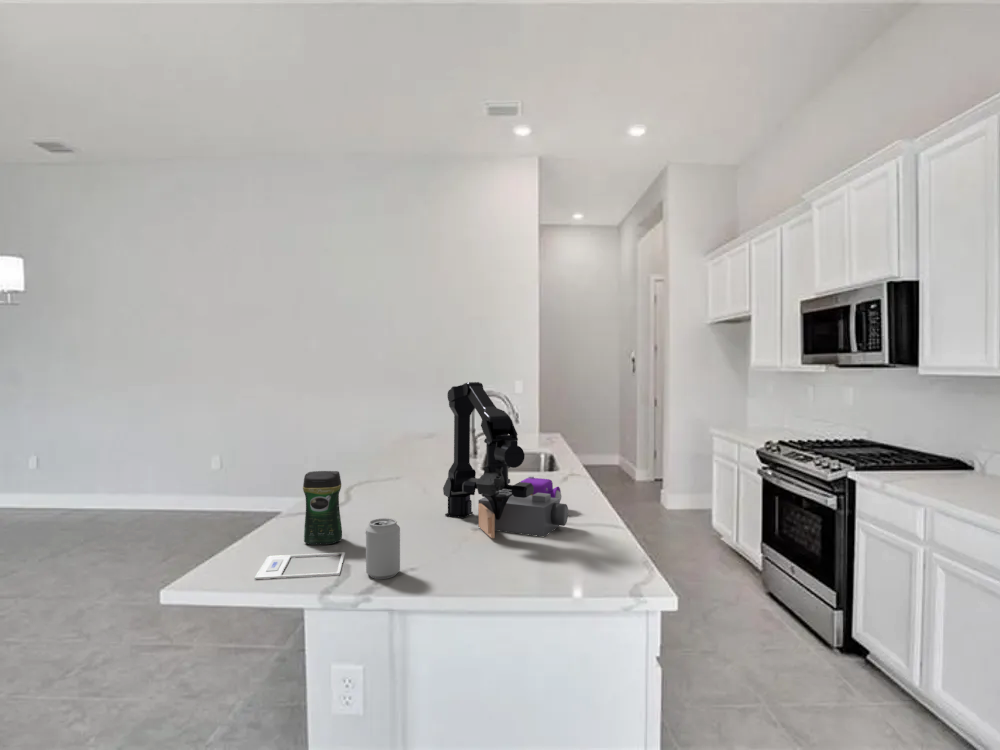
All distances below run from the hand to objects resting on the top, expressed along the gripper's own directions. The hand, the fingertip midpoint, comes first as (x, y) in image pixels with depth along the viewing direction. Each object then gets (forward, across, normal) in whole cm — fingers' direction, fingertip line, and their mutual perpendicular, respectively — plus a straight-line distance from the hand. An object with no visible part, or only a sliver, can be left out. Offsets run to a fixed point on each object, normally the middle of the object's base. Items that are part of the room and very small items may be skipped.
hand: (498, 519), depth 164 cm
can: (+5, -12, -36) cm, 38 cm away
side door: (+4, -5, +1) cm, 6 cm away
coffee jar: (+5, -41, -22) cm, 47 cm away
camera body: (+5, +2, +12) cm, 14 cm away
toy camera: (+6, -1, +33) cm, 34 cm away
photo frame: (+5, -32, -39) cm, 51 cm away
